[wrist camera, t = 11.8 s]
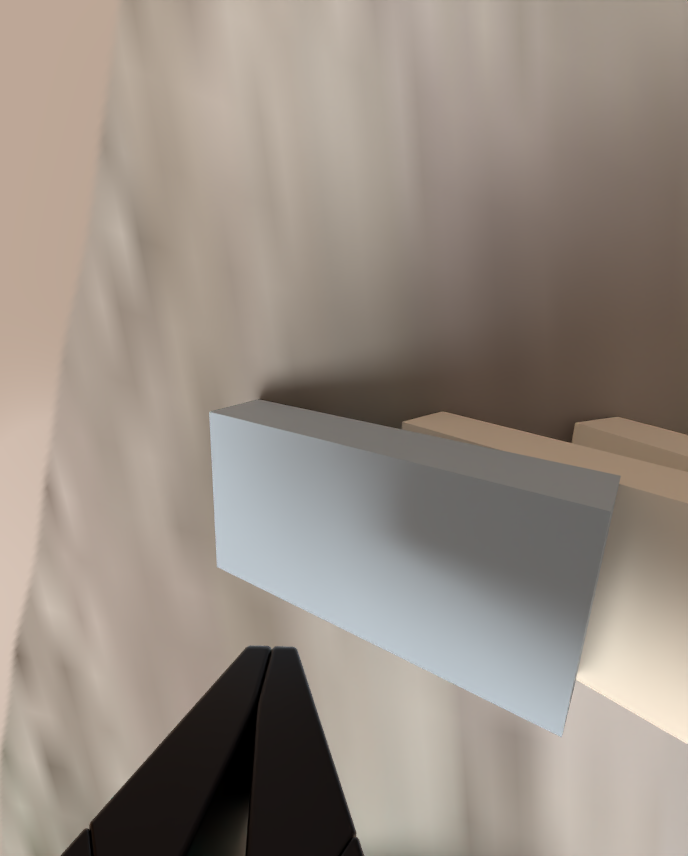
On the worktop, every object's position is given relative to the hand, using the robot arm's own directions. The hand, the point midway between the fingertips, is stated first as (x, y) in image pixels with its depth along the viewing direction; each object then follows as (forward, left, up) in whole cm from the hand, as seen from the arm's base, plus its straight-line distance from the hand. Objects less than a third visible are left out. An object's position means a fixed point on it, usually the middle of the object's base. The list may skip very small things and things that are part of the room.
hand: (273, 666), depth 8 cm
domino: (+2, 0, -7) cm, 7 cm away
